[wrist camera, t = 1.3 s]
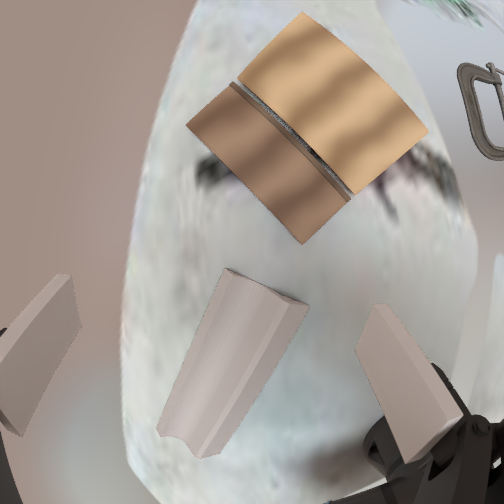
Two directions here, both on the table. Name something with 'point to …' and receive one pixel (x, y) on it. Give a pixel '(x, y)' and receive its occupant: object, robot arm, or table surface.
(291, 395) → the table surface
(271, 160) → the walnut floor board
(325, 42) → the oak plank
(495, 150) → the c clamp
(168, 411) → the crown molding
